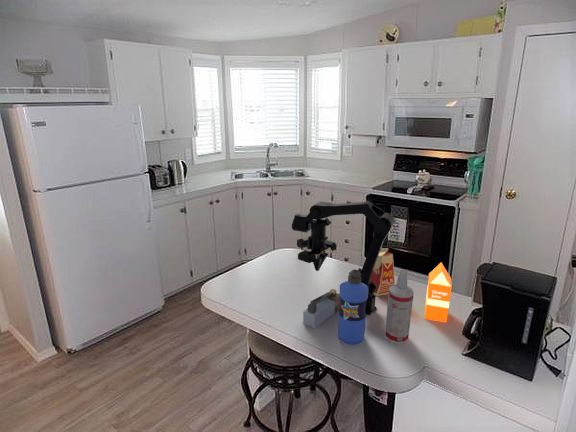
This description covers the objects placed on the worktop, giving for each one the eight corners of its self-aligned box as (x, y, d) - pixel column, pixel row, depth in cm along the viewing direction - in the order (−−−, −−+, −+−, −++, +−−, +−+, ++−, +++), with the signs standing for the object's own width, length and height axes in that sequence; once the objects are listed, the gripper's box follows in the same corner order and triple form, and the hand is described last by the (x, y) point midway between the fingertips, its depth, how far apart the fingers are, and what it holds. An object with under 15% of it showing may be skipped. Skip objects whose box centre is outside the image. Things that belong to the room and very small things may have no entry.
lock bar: (332, 292, 146) (332, 288, 146) (337, 294, 144) (337, 290, 144) (309, 304, 137) (309, 300, 137) (314, 306, 136) (314, 302, 135)
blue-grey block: (334, 313, 143) (335, 295, 141) (314, 328, 134) (314, 309, 131) (323, 308, 146) (324, 291, 144) (303, 323, 137) (303, 304, 134)
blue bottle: (360, 348, 123) (365, 279, 116) (333, 340, 127) (336, 273, 119) (367, 332, 131) (372, 267, 124) (341, 326, 135) (345, 262, 127)
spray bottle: (402, 329, 133) (409, 265, 125) (412, 342, 126) (420, 275, 118) (381, 331, 132) (387, 266, 124) (389, 344, 125) (396, 277, 117)
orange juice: (445, 310, 145) (452, 263, 139) (446, 322, 137) (454, 273, 131) (424, 306, 148) (430, 260, 142) (424, 318, 140) (430, 269, 134)
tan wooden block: (340, 308, 146) (341, 294, 144) (335, 312, 143) (335, 298, 141) (330, 304, 149) (330, 290, 147) (324, 308, 146) (324, 294, 145)
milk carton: (395, 292, 158) (400, 248, 152) (377, 296, 155) (381, 252, 149) (382, 283, 166) (386, 241, 160) (365, 286, 163) (368, 244, 157)
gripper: (315, 224, 158) (314, 258, 163) (287, 235, 144) (286, 272, 149) (338, 229, 151) (336, 265, 156) (310, 242, 138) (309, 281, 142)
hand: (317, 270), depth 151 cm, fingers closed
